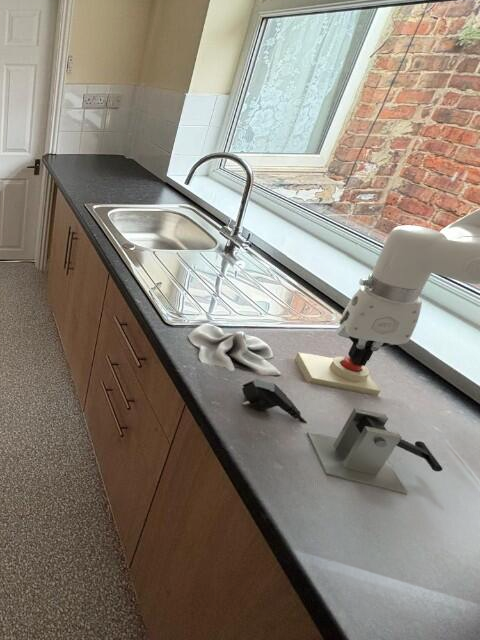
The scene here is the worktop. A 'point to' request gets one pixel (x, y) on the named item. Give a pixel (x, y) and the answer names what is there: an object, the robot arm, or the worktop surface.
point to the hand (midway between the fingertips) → (356, 360)
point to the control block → (335, 374)
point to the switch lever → (405, 444)
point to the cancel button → (350, 364)
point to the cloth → (232, 350)
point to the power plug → (269, 398)
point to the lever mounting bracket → (360, 452)
